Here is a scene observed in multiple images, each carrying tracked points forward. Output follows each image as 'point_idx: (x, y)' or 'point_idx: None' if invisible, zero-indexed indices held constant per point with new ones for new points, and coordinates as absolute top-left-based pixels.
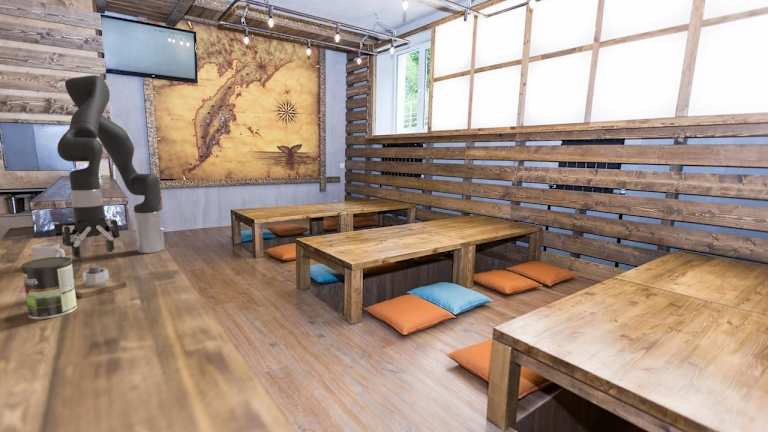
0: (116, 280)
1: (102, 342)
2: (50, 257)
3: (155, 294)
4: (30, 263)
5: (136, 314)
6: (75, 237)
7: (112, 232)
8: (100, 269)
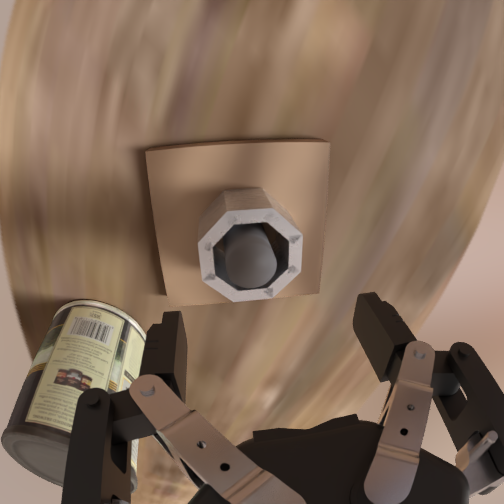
0: (311, 247)
1: (167, 468)
2: (60, 446)
3: (319, 382)
4: (19, 448)
5: (236, 438)
6: (169, 446)
7: (460, 381)
8: (283, 235)
